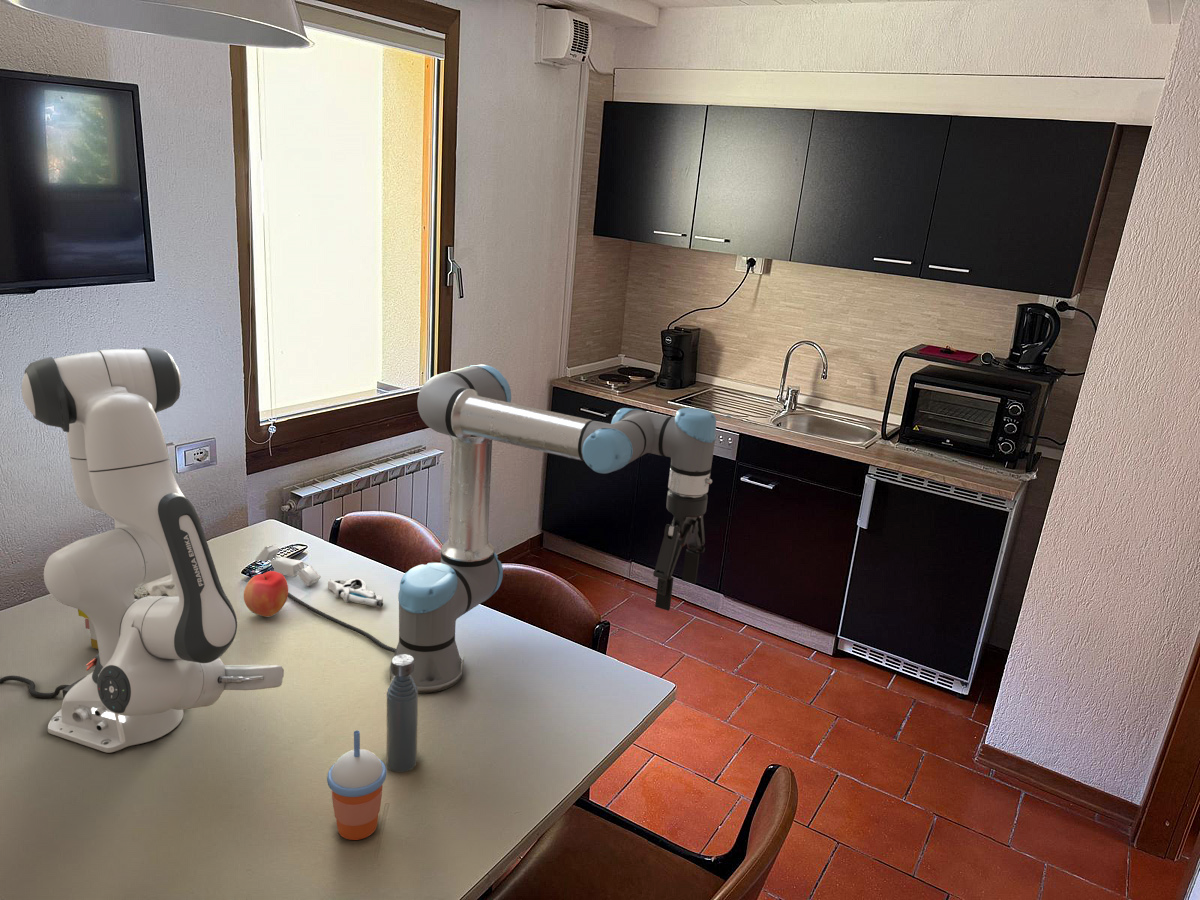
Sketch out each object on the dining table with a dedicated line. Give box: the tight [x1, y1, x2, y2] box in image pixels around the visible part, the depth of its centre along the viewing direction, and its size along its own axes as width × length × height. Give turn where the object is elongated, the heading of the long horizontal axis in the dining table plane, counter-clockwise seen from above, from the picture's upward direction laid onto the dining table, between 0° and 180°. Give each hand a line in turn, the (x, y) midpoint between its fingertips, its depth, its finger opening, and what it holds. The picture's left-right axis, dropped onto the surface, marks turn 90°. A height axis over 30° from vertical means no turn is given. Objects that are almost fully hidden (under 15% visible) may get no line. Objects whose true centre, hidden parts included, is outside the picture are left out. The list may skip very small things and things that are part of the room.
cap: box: [390, 654, 414, 677], centre depth 149 cm, size 4×4×2 cm
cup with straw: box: [326, 729, 388, 841], centre depth 136 cm, size 9×9×18 cm
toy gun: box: [327, 578, 384, 608], centre depth 212 cm, size 18×2×10 cm
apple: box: [243, 570, 289, 618], centre depth 199 cm, size 10×10×10 cm
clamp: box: [254, 544, 322, 587], centre depth 219 cm, size 20×4×7 cm, turn 62°
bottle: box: [385, 675, 419, 773], centre depth 152 cm, size 5×5×21 cm
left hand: (259, 672), depth 153 cm, fingers open, 8 cm apart
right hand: (676, 594), depth 165 cm, fingers open, 13 cm apart
